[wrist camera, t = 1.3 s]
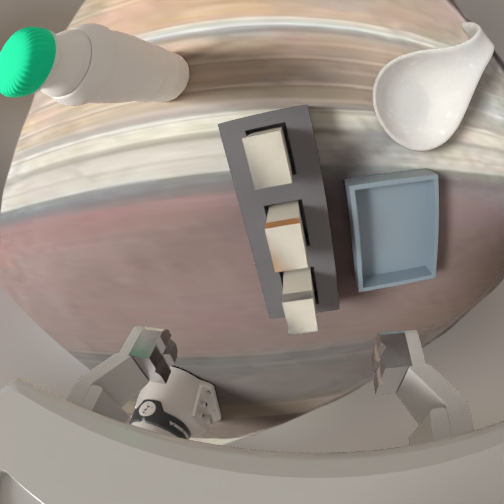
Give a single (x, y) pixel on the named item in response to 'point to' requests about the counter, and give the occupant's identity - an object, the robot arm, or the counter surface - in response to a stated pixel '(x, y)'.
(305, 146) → the fuse strip
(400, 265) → the tray
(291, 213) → the orange cap fuse
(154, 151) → the counter surface
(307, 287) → the block
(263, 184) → the block
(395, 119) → the spoon rest
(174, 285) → the counter surface
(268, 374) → the counter surface
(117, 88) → the water bottle
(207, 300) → the counter surface
